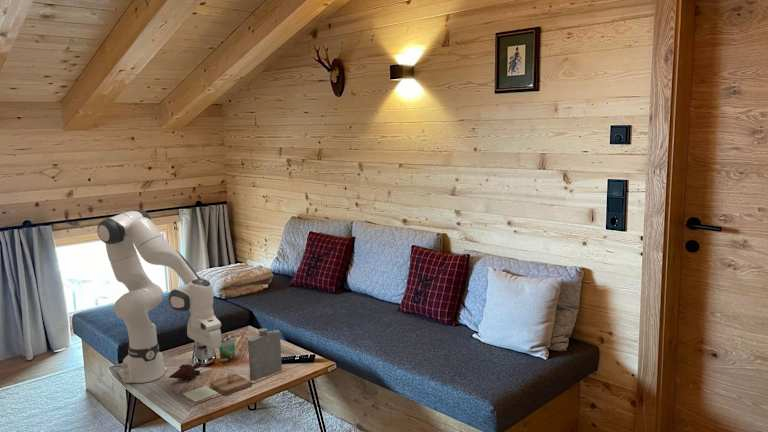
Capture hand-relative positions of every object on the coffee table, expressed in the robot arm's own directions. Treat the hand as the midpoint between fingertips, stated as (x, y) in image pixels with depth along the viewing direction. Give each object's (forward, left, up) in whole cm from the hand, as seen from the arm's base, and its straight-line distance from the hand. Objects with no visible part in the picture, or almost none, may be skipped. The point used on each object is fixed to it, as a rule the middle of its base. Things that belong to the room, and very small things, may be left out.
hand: (204, 353), depth 241 cm
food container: (-24, +25, -17) cm, 39 cm away
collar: (0, 0, -1) cm, 1 cm away
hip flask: (+3, +26, -17) cm, 31 cm away
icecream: (-18, 0, -17) cm, 24 cm away
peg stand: (+3, +9, -16) cm, 19 cm away
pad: (0, -3, -16) cm, 17 cm away
